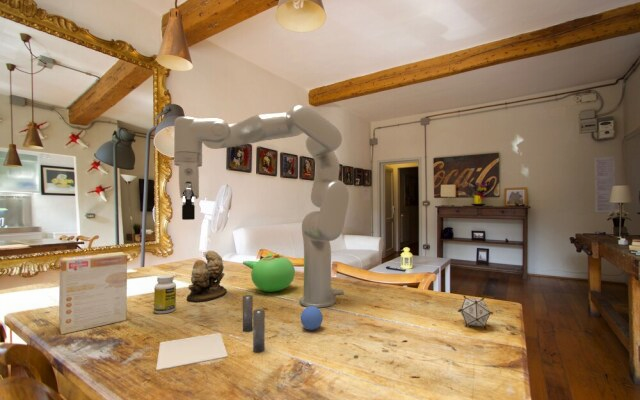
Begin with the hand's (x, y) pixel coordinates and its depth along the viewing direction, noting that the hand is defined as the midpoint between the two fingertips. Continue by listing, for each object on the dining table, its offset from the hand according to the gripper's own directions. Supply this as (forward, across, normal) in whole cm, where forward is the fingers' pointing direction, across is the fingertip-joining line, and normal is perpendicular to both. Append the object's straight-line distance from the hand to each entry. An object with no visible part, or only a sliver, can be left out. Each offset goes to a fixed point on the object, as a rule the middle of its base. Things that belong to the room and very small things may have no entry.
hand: (188, 219), depth 90 cm
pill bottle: (+30, +14, +6) cm, 33 cm away
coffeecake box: (+30, +9, +24) cm, 40 cm away
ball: (+27, -19, -31) cm, 45 cm away
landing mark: (+30, -19, -1) cm, 35 cm away
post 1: (+30, -13, -15) cm, 36 cm away
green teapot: (+30, +24, -31) cm, 50 cm away
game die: (+30, -36, -73) cm, 87 cm away
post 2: (+30, -26, -15) cm, 42 cm away
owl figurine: (+30, +27, -7) cm, 41 cm away
